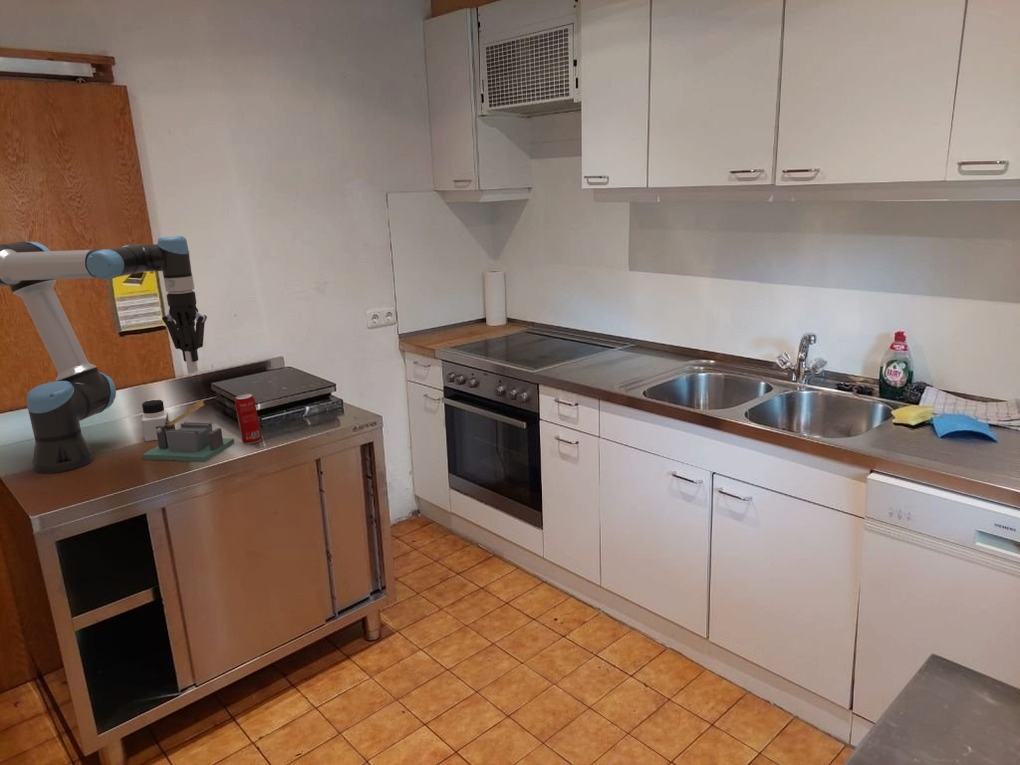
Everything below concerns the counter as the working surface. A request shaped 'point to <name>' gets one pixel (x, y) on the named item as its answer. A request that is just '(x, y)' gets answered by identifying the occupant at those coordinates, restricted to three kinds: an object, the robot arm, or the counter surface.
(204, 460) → the board
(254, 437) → the beverage can
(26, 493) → the counter surface
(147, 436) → the medicine bottle
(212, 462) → the counter surface
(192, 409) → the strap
